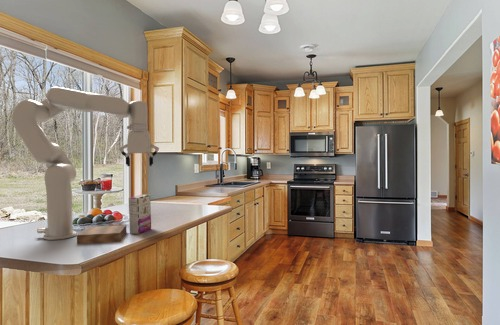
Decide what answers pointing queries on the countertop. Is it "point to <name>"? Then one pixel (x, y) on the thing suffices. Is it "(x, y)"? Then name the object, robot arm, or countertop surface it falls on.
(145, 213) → the candy bar box
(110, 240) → the walnut block
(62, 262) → the countertop surface
